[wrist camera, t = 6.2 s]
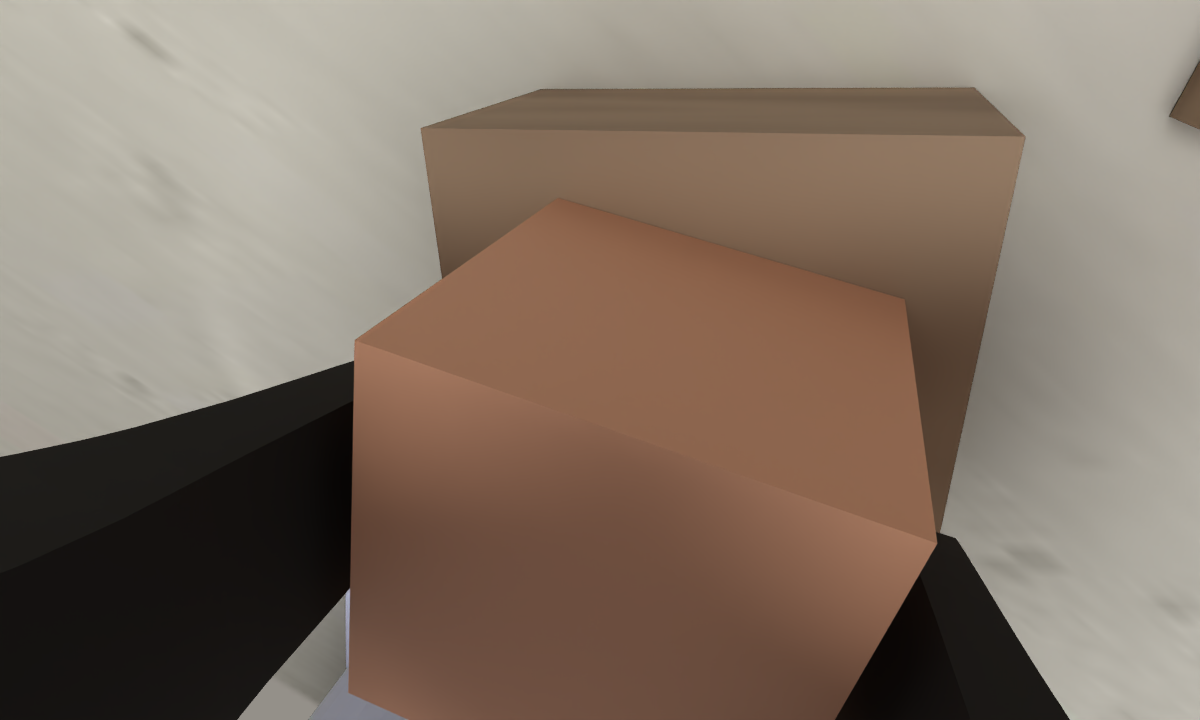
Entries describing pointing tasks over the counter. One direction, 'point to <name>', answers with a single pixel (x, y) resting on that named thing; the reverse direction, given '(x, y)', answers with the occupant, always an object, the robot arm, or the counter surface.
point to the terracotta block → (631, 483)
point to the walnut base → (768, 196)
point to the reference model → (1189, 102)
